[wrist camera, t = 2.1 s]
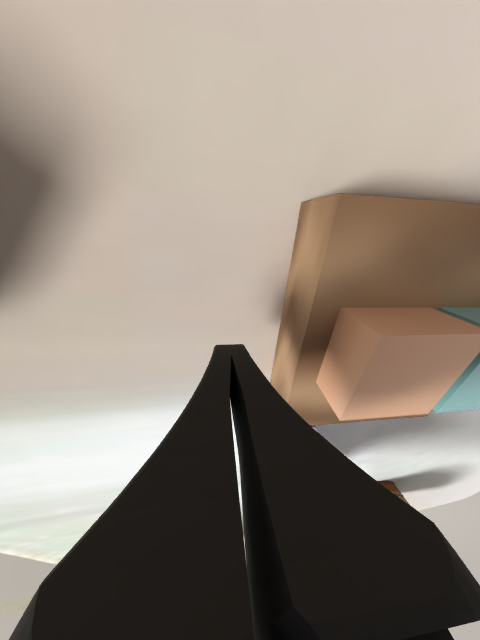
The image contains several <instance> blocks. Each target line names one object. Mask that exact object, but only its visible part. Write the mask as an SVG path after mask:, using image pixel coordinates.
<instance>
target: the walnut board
mask: <svg viewBox="0 0 480 640" xmlns="http://www.w3.org/2000/svg"><path fill="white" fill-rule="evenodd" d="M405 307H431V308H433V309H436V310H438V309H439V307H480V204H475V203H461V202H448V201H435V200H421V199H408V198H394V197H381V196H368V195H354V194H341V193H340V194H336V195H332V196H327V197H323V198H318V199H314V200H310V201H305V202H301V208H300V213H299V219H298V225H297V231H296V237H295V242H294V248H293V254H292V260H291V266H290V271H289V277H288V283H287V289H286V295H285V300H284V306H283V312H282V318H281V324H280V329H279V335H278V341H277V347H276V353H275V358H274V364H273V370H272V376H271V382H270V384H271V385H272V386H273V387H274V388H275V389H276V391H277V392H278V393H279V394H280V395H281V396H282V397H283V399H284V400H285V401H286V402H287V403H288V404H289V405H290V406H291V407H292V408H293V409H294V410H295V411H296V412H297V413H298V414H299V415H300V416H301V417H302V418H303V419H304V420H305V421H306V422H307V423H308V424H309V425H323V424H335V423H347V422H360V421H372V420H384V419H396V418H409V417H421V416H427V415H428V414H429V413H430V412H431V411H430V412H429V413H428V414H420V415H407V416H395V417H382V418H370V419H357V420H344V421H340V420H339V419H338V417H337V416H336V414H335V412H334V411H333V409H332V407H331V406H330V404H329V402H328V401H327V399H326V398H325V396H324V394H323V393H322V391H321V389H320V388H319V386H318V384H317V383H316V380H317V377H318V374H319V371H320V368H321V365H322V362H323V359H324V356H325V353H326V350H327V348H328V345H329V342H330V339H331V336H332V333H333V330H334V327H335V324H336V321H337V318H338V315H339V312H340V309H341V308H405Z"/></svg>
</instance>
